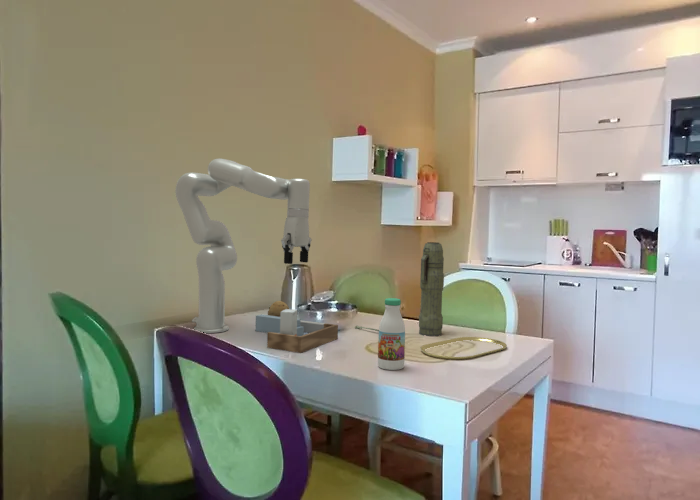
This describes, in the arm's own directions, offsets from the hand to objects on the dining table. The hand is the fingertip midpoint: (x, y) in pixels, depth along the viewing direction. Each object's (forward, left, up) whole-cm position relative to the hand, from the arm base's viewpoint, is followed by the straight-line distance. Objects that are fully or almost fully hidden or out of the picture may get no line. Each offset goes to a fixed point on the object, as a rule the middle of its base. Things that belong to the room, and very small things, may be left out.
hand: (296, 262), depth 184 cm
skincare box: (+4, -9, -27) cm, 29 cm away
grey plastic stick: (-1, +14, -28) cm, 31 cm away
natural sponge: (-19, +17, -27) cm, 37 cm away
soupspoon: (+20, +26, -28) cm, 43 cm away
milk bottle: (+43, -15, -27) cm, 53 cm away
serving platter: (+56, +19, -28) cm, 65 cm away
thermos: (+38, +36, -27) cm, 59 cm away
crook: (-11, -3, -27) cm, 29 cm away
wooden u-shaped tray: (+5, -3, -27) cm, 28 cm away
